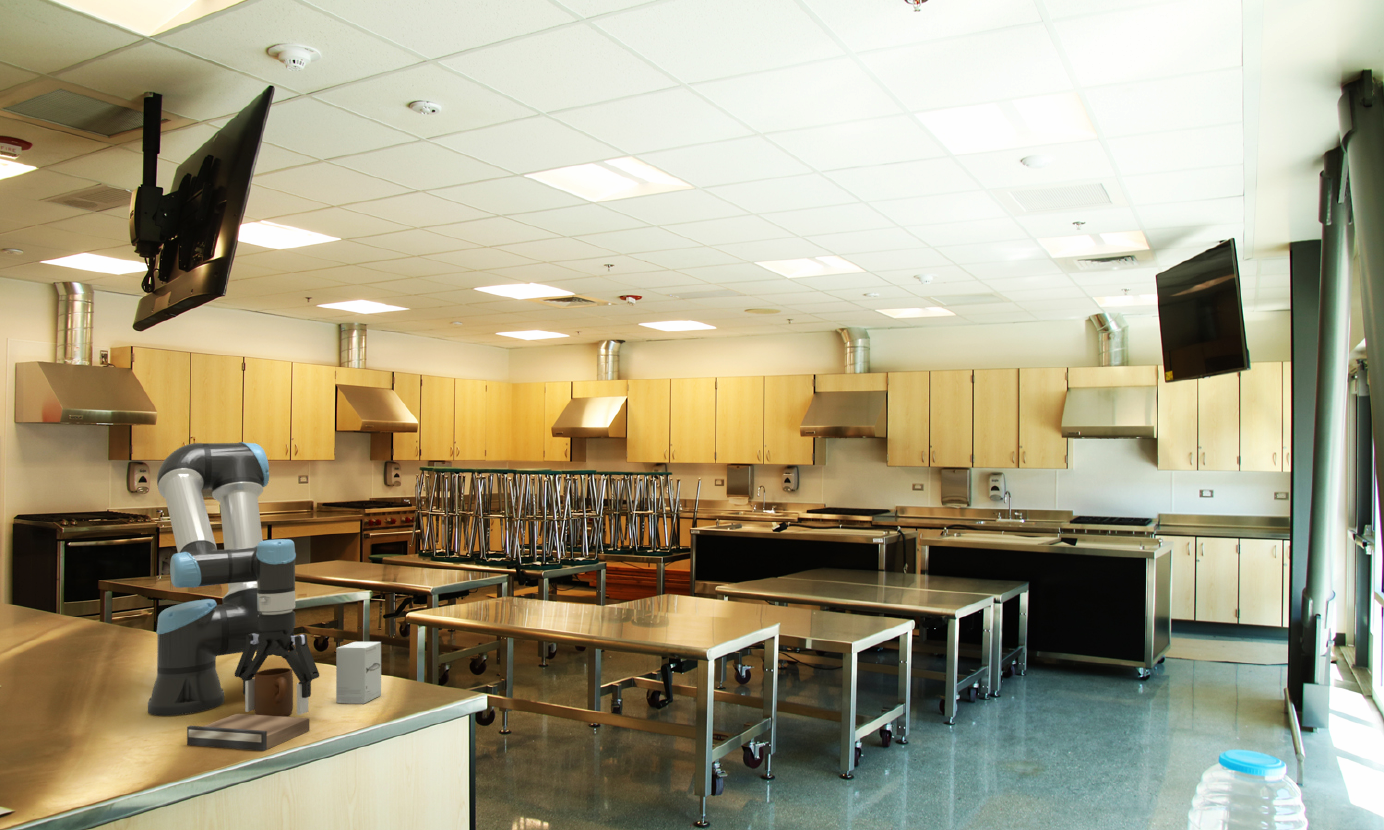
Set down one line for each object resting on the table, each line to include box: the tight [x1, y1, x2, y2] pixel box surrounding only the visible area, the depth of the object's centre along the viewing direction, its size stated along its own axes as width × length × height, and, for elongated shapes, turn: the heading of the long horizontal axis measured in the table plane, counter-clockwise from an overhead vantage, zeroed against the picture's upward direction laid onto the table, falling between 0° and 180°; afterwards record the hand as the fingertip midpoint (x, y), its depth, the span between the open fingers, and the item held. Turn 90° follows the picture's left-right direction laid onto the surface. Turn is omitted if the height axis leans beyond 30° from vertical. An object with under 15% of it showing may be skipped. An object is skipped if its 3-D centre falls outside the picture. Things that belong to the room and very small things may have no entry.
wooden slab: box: [186, 713, 311, 752], centre depth 179 cm, size 18×13×4 cm
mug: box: [254, 667, 294, 717], centre depth 193 cm, size 12×8×9 cm, turn 39°
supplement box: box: [335, 641, 382, 705], centre depth 206 cm, size 7×7×13 cm
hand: (276, 711), depth 193 cm, fingers open, 12 cm apart
